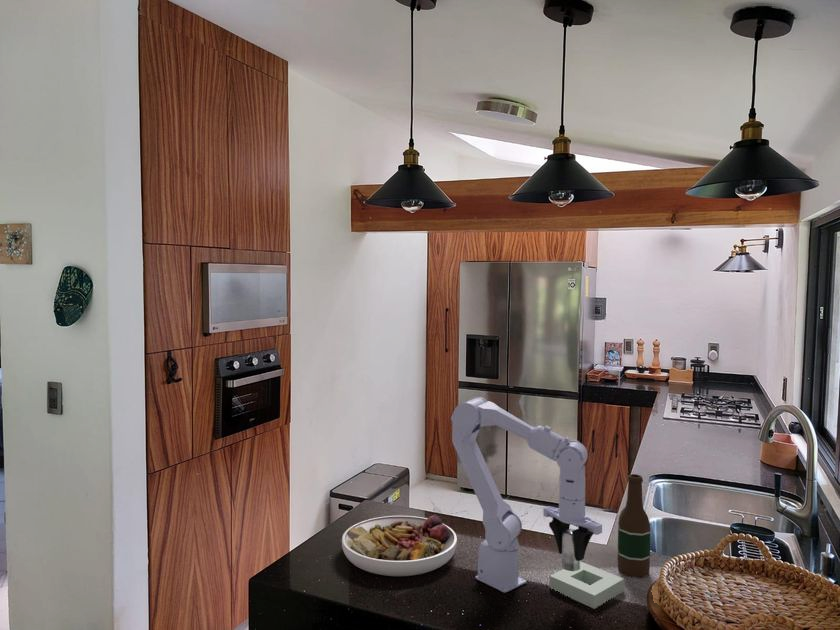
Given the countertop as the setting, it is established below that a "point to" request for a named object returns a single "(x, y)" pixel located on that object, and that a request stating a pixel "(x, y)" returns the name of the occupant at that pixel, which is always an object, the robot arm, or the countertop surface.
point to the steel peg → (569, 551)
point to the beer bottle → (634, 533)
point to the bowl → (399, 545)
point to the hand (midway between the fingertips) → (571, 556)
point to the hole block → (587, 585)
